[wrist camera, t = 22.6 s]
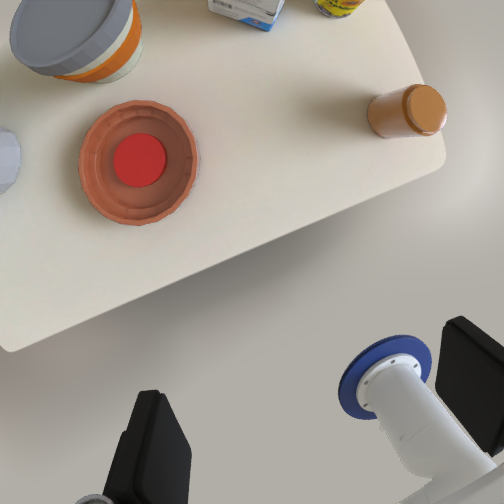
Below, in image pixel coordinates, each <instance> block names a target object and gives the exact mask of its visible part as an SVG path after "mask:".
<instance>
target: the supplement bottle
mask: <svg viewBox="0 0 504 504" xmlns="http://www.w3.org/2000/svg"><path fill="white" fill-rule="evenodd" d="M314 1H315V4H316V6H317V7H318V9H319V10H320V11H321V12H322V13H324V14H325V15H327V16H330V17H333V18H344V17H347V16H349V15H350V14H351V13H352V12H353V11H354V10H355V9H356V8H357V7H358V6H359V5H360V4H361V3H362V2H363V1H364V0H314Z"/></svg>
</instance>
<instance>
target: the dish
mask: <svg viewBox="0 0 504 504" xmlns="http://www.w3.org/2000/svg"><path fill="white" fill-rule="evenodd" d="M137 133H143V134H145V133H147V134H148V135H151V136H155V138H157V139H158V140H159V141H161V143H162V144H163V146H164V148H165V150H166V155H167V164H166V165H167V166H166V168H165V170H164V172H163V174H162V175H161V177H160V178H159V179H158V180H157V181H155V182H154V183H152V185H147V186H144V187H132V186H129V185H127V184H125V183H124V182H122V181H121V180H120V179H119V177H118V176H117V174H116V172H115V169H114V162H113V160H114V154H115V151H116V149H117V147H118V145H119V144H120V143H121V142H122V141H123V140H124V139H125V138H127V137H128V136H130V135H133V134H137ZM199 167H200V152H199V147H198V142H197V139H196V137H195V135H194V133H193V132H192V130H191V128H190V126H189V125H188V123H187V122H186V121H185V120H184V119H183V118H181V117H180V116H179V115H178V114H177V113H176V112H174V111H173V110H172V109H171V108H170V107H167V106H164V105H162V104H159V103H157V102H154V101H140V100H134V101H129V102H126V103H123V104H120V105H117V106H114V107H113V108H111V109H110V110H108V111H107V112H106V113H104V114H103V115H101V116H100V117H99V118H98V119H97V120H96V122H95V123H94V124H93V125H92V127H91V128H90V129H89V131H88V132H87V134H86V136H85V139H84V141H83V144H82V146H81V149H80V155H79V167H78V171H79V176H80V181H81V185H82V189H83V191H84V192H85V194H86V196H87V198H88V200H89V201H90V203H91V205H92V206H94V207H95V208H96V209H97V210H98V211H99V212H100V213H101V214H102V215H103V216H105V217H106V218H109V219H111V220H113V221H115V222H118V223H120V224H126V225H136V226H141V225H145V224H149V223H153V222H157V221H159V220H161V219H163V218H164V217H166V216H168V215H169V214H171V213H173V212H174V211H175V210H176V209H177V208H178V207H179V206H180V205H181V204H182V203H183V201H184V200H185V199H186V198H187V197H188V196H189V195H190V193H191V192H192V189H193V187H194V185H195V183H196V180H197V178H198V175H199Z"/></svg>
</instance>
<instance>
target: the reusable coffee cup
mask: <svg viewBox="0 0 504 504" xmlns="http://www.w3.org/2000/svg"><path fill="white" fill-rule="evenodd" d="M141 28H142V27H141V21H140V17H139V13H138V10H137V6H136V2H135V0H22V2H21V3H20V5H19V7H18V9H17V10H16V12H15V15H14V18H13V20H12V23H11V28H10V46H11V50H12V52H13V54H14V56H15V57H16V58H17V59H18V60H19V61H20V62H21V63H22V64H24V65H25V66H27V67H28V68H30V69H32V70H33V71H35V72H37V73H39V74H41V75H47V76H53V77H55V78H59V79H65V80H71V81H76V82H82V83H84V82H98V83H108V82H113V81H115V80H118V79H120V78H122V77H123V76H125V75H126V74H127V73H129V72H130V71H131V70H132V69H133V68H134V67H135V65H136V64H137V62H138V60H139V58H140V56H141V53H142V49H143V42H142V37H141Z"/></svg>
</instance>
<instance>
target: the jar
mask: <svg viewBox="0 0 504 504" xmlns="http://www.w3.org/2000/svg"><path fill="white" fill-rule="evenodd" d="M20 165H21V163H20V145H19V143H18V141H17V139H16V137H15V134H14V133H13V132H11V131H9V130H8V129H6V128H4V127H0V193H5V192H6V191H7V189H8V188H9V187H10V186H11V185H12V184H13V183H14V182H15V180H16V177H17V174H18V171H19V168H20Z"/></svg>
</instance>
